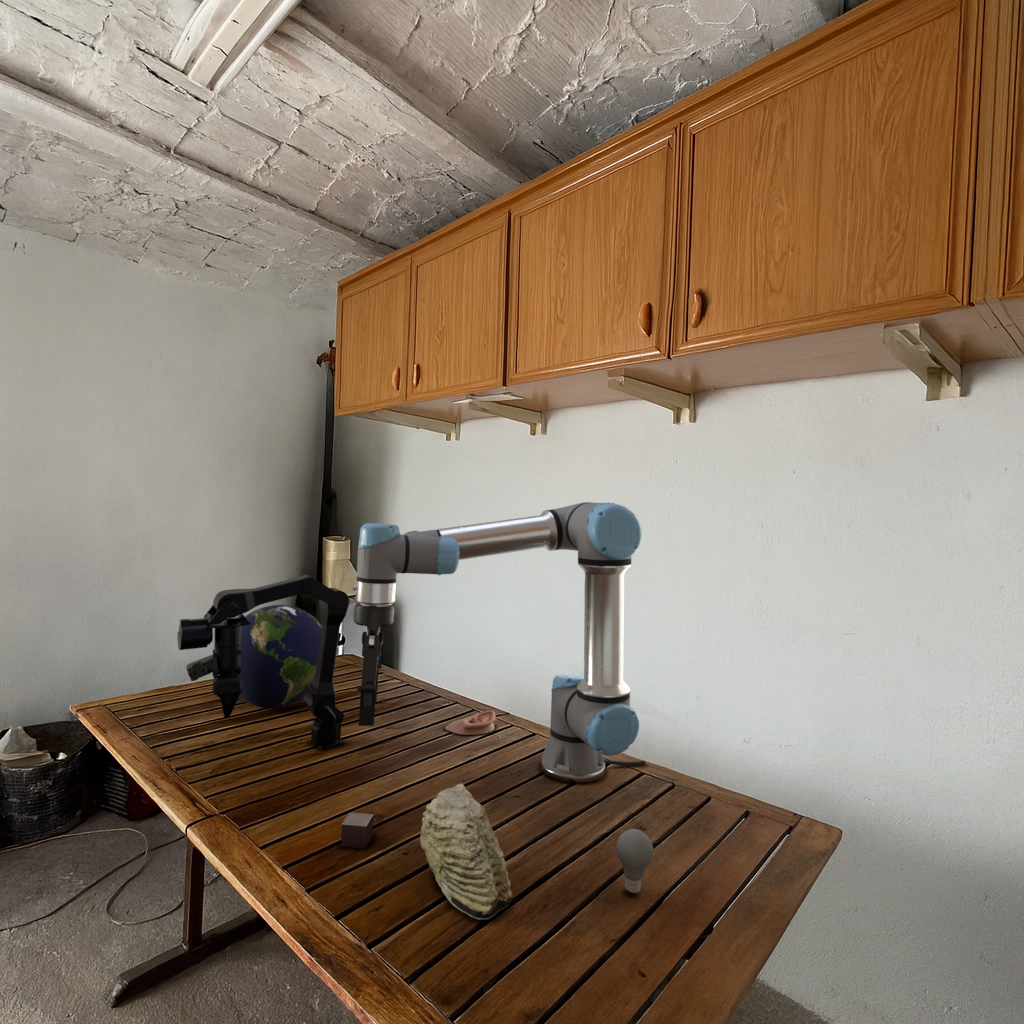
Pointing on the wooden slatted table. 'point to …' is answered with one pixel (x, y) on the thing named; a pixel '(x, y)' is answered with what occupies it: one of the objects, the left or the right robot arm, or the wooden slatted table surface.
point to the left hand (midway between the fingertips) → (226, 711)
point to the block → (357, 830)
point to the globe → (278, 655)
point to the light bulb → (634, 857)
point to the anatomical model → (473, 724)
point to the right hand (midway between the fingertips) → (368, 712)
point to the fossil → (465, 854)
